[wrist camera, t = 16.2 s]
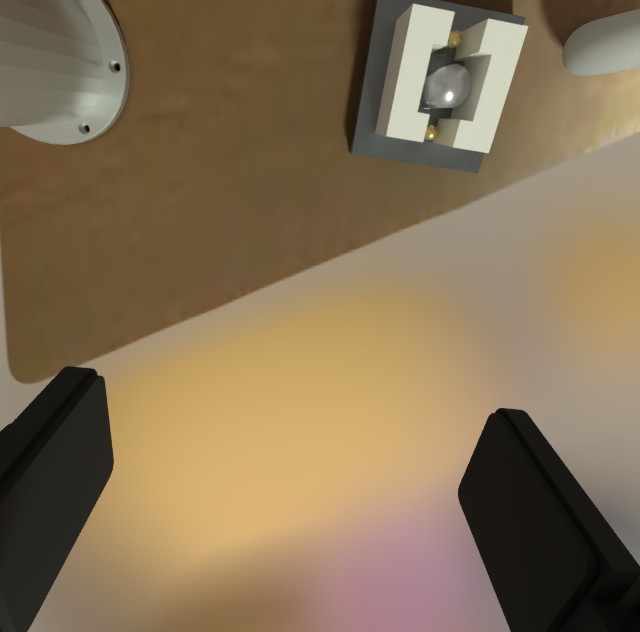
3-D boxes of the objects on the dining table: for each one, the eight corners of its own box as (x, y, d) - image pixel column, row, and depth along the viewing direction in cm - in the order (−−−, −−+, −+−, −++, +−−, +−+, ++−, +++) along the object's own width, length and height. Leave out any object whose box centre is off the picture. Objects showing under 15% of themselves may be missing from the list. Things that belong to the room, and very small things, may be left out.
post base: (349, 151, 35) (358, 159, 29) (375, -4, 30) (391, -32, 25) (469, 170, 36) (500, 181, 31) (512, 22, 31) (560, 2, 26)
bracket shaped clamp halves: (396, 19, 29) (413, 3, 25) (495, 38, 30) (528, 26, 26) (375, 132, 33) (386, 136, 28) (464, 147, 34) (488, 153, 29)
